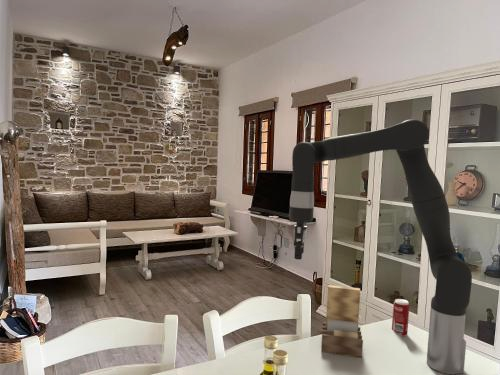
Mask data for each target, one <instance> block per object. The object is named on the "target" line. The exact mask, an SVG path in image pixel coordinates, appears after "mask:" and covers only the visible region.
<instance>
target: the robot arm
mask: <svg viewBox="0 0 500 375" xmlns="http://www.w3.org/2000/svg"><path fill="white" fill-rule="evenodd" d="M429 138H430V131H429V127H428V126H427V124H426V123H424V121H421V120H419V119H413V118H412V119H411V118H410V119H406V120H404V121H402V122H400V123H397V124H395V125H391V126H389V127H385V128H381V129H375V130H371V131H365V132H358V133H352V134H345V135H340V136H339V135H338V136H333V137H328V138H326V139H324V140H320V141H318V140H317V141H313V142H308V141H301V142H298V143H297V144H296V145H295V146H294V147H293V149H292V157H291V158H292V159H291V160H292V163H291V164H292V166H291V167H292V178H291V192H290V193H291V194H290V198H289V214H288V218H289V220H290V221H293V222H296V225H294V226H293V246H294V257H293V258H294V259H295V260H302V258H303V254H304V252H305V251H304V250H305V242H306V238H307V231H308V225H307V226H306V224H307V223H309V222H313V221H314V207H315V195H314V194H315V176H314V175H315V174H314V172H315V171H314V170H315V164H317V163H322V162H323V163H324V162H325V161H337V160H342V159H349V158H355V157H359V156H363V155H367V154H370V153H376V152H382V151H392V150H393V151H396V154H397V156H398V157H399V160H400V162H401V166H402V168H403V170H404V176H405V181H406V185H407V190H408V193H409V196H410V200H411V201H410V202H411V205H412V208H413V212H414V214H415V218H416V219H417V223H418V226H419V229H420V232H421V234H422V236H423V238H424V241H425V246H426V249H427V254H428V260H429V266H430V271H431V274H432V276H433V278H434V279H435V281H436V282H435V292H434V296H432V298H431V301H430V309H429V310H430V311H429V322H428V323H429V324H428V326H429V327H428V328H429V329H428V339H427V341H428V342H427V352H426V364H427V366H429V367H430V368H431V369H433V370H435V371H437V372H439V373H442V374H447V375H459V374H463V375H464V373H465V362H466V349H467V341H466V340H465V328H466V314H467V308H468V306H469V304H470V299H471V293H472V283H473V282H472V281H473V276H472V275H473V274H472V270H471V268H470V266H469V265H468V264H467V262H465V261H463V260H462V259H460V257H459V255H458V253H457V250H456V248H455V246H454V243H453V239H452V236H451V235H452V234H451V219H450V218H451V215H450V209H449V205H448V202H447V199H446V195H445V192H444V190H443V187H442V185H441V183H440V181H439V179H438V178H437V175H436V174H435V172H434V171H433V169H432V167H431V165H430V163H429V160H428V157H427V153H426V149H425V145H426V143H427V142H428V140H429Z"/></svg>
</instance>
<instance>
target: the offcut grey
mask: <svg viewBox="0 0 500 375" xmlns="http://www.w3.org/2000/svg"><path fill="white" fill-rule="evenodd" d="M334 330H340V331H348V332H355V333H357V323H356V322H349V321H341V320H333V319H328V326H327V331H333V332H334Z"/></svg>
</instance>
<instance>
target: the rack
mask: <svg viewBox="0 0 500 375" xmlns="http://www.w3.org/2000/svg"><path fill="white" fill-rule="evenodd" d="M357 334H358V339H354V338H347V337H340V336H334V332H333V331H327V327H326V322H324V321H323V322H322V331H321V348H320V349H321V351H320V352H321V353H324V354H331V355H339V356H345V357H351V358H356V359H357V358H358V359H363V346H364V345H363V343H364V340H363V335H362V331H361V327H360V326H358V331H357Z"/></svg>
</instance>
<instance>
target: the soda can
mask: <svg viewBox="0 0 500 375" xmlns="http://www.w3.org/2000/svg"><path fill="white" fill-rule="evenodd" d="M392 308H393V309H392V323H391V330H392V331H393V332H396V333H398V334H401V336H402V338H405V337H407V336H408V328H409V320H410V319H409V318H410V317H409V316H410V304H409V301H408V300H406V299H402V298H395V299H394V302H393V307H392Z"/></svg>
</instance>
